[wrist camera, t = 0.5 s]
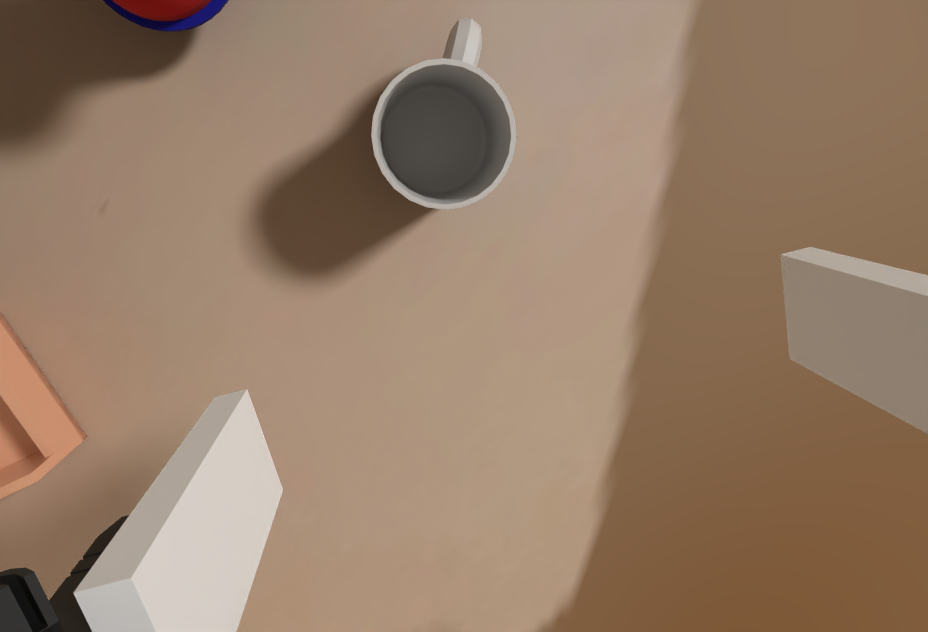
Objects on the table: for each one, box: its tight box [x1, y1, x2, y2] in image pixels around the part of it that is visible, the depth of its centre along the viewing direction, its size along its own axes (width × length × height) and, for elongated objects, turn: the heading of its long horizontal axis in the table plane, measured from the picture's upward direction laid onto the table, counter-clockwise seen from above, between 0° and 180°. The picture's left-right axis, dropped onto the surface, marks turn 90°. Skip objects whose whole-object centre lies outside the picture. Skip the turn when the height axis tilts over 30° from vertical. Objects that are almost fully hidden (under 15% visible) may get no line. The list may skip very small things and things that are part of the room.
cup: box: [371, 18, 516, 210], centre depth 35 cm, size 7×10×9 cm
